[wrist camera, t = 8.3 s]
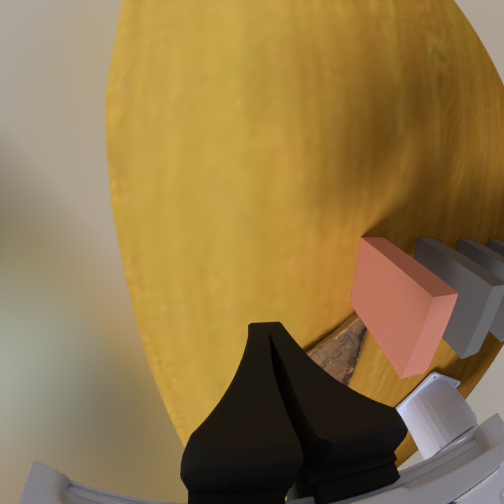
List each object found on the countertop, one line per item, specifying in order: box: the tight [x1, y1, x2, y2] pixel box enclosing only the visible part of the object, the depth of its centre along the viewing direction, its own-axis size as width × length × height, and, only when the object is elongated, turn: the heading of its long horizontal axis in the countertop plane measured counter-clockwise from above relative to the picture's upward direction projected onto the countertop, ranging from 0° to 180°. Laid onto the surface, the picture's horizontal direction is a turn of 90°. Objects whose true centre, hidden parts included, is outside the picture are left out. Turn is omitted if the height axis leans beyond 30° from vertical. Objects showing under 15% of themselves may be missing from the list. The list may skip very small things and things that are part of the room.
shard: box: [306, 313, 367, 387], centre depth 21 cm, size 11×8×2 cm
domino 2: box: [456, 238, 504, 342], centre depth 15 cm, size 2×5×8 cm, turn 179°
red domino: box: [350, 237, 458, 379], centre depth 15 cm, size 2×5×8 cm, turn 179°
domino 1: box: [413, 237, 504, 359], centre depth 15 cm, size 2×5×8 cm, turn 179°
